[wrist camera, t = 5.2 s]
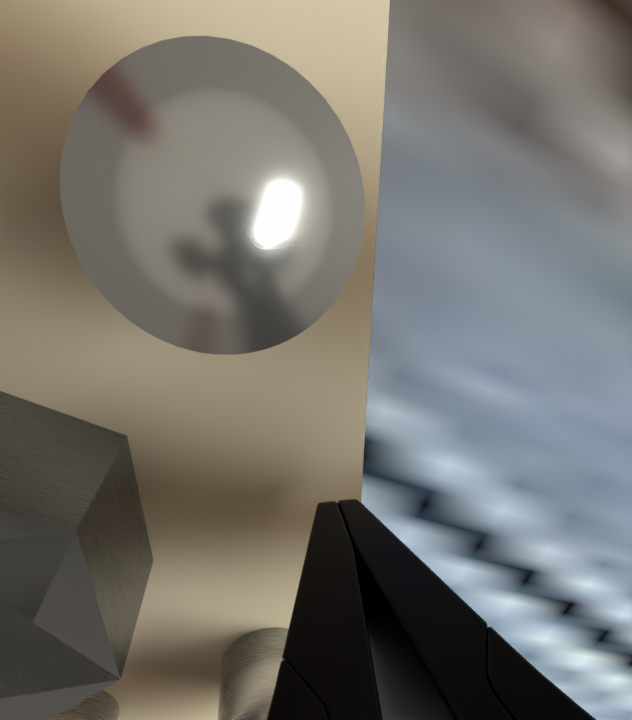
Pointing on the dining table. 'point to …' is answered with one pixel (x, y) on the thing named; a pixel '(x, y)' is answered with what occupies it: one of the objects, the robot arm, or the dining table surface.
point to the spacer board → (181, 366)
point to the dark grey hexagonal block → (65, 559)
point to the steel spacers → (212, 231)
